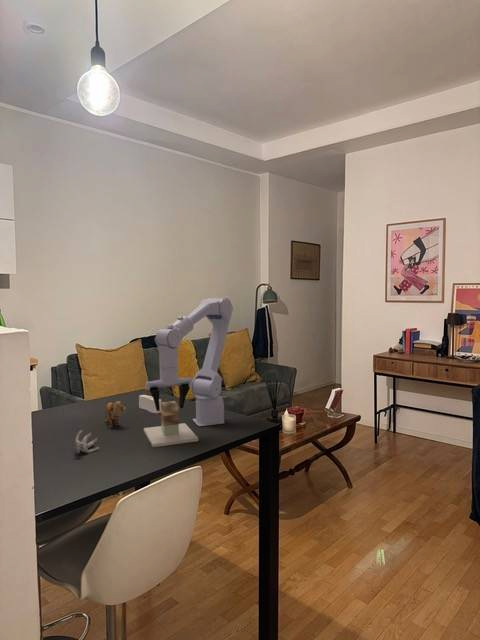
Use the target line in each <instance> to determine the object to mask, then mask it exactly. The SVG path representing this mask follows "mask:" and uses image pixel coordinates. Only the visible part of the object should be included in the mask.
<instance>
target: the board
mask: <svg viewBox="0 0 480 640" xmlns="http://www.w3.org/2000/svg"><path fill="white" fill-rule="evenodd" d="M160 424H161V425H160V426H159V425H157V426H151V427H144V428H143V433H144V434H145V436H146V438H147V439H148V441H149V443H150V444H151V446H152V448H159V447H166V446H172V445H173V446H174V445H180V444H186V443H187V444H188V443H195V442H199V437H198V436H197V434H195V433H194V431H193V430H192V429H191V428H190V427H189V426H188V425H187V424H186V423H179V424H177V425H169V426H164V425H163V424H162V422H161V421H160Z"/></svg>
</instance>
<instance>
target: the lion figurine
mask: <svg viewBox="0 0 480 640" xmlns="http://www.w3.org/2000/svg"><path fill="white" fill-rule="evenodd" d="M105 406H106V407H105V416H104V417H105V420H104V423H108V422H109V426H108V427H109V428H113V427H114V424H113V420H115V425H116V426H120V425H121V424H120V423H119V420H120V416H121V415H122V413H124V414H125V412H126V410H127V407H126V406H125V405H123V404H122V401H120V400H119V401H115V402H108V403H106V405H105Z"/></svg>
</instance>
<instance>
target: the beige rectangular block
mask: <svg viewBox="0 0 480 640" xmlns="http://www.w3.org/2000/svg"><path fill="white" fill-rule="evenodd" d="M161 402H162V399H160V398H159V406H160V411H157V410H156V406H155V402H154V399H153V397H152V395H147V394H141V395H138V409H142V410H145V411H148V412H149V413H151V414H152V413H154V414H161Z"/></svg>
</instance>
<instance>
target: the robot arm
mask: <svg viewBox="0 0 480 640" xmlns="http://www.w3.org/2000/svg"><path fill="white" fill-rule="evenodd" d="M233 310H234V307H233V304H232V301H231V300H230V299H229V298H228V297H223V298H221V297H220V298H219V297H205V298H203V299H202V300H201V301H200V303H199V305H198V306H197V307H196V308H195V309H194V310H192V311H191V312H190V313H189V314H188V315H187V316H186V315H179V316H177V319H176V320H175V321H174V322H172V323H170V324H168V326H167V327H166V328H161V329H159V330H158V331H157V333H156V334H155V337H154V342H155V345H156V346H157V351H158V354H159V355H158V357H159V361H158V362H159V379H156V380H151V381H145V389H146V390H149V392H150V394H151V396H152V397H153V399H154V402H155V406H156V410H157V411H160V406H159V399H160V393H161V392H160V390H159V388H166V387H178V394H179V401H178V402H179V403H178V407H179V408H180V409H184V406H185V402H186V401H185V400H186V397H187V395H188V393H189V391H191V393H192V394H194V395H193V397H194V398H195V418H192V421H193V422H194V423H195V424H196V425H197V426H198V427H206V426H213V425H222V424H225V404H224V403H225V402H224V398H223V397H222V396H221V395H220V394H221V392H222V381H223V378H222V376H221V375H220V374H219V373H218V370H219V366H220V363H221V358H222V355H223V351H224V346H225V343H226V339H227V335H228V330H229V328H230V327H229V326H230V322H231V318H232V314H233ZM205 317H206V319H207V320H208V321H209V322H210V323H211V325H212V330H211V333H210V337H209V341H208V345H207V350H206V353H205V357H204V360H203V364H202V368H200V369H199V370H198V371H196V372H195V375H194V376H193V377H194V378H193V379H192V378H191V377H179V362H178V359H179V356H178V352H179V351H178V347H180V345H181V343H182V340H183V338H185V337H186V336H187V335H188V334H189V333H191V332H192V331H193V330H194V327H195V326H194V325H195V324H197V323H198V322H200V321H201V320H202V319H204V318H205Z"/></svg>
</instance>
